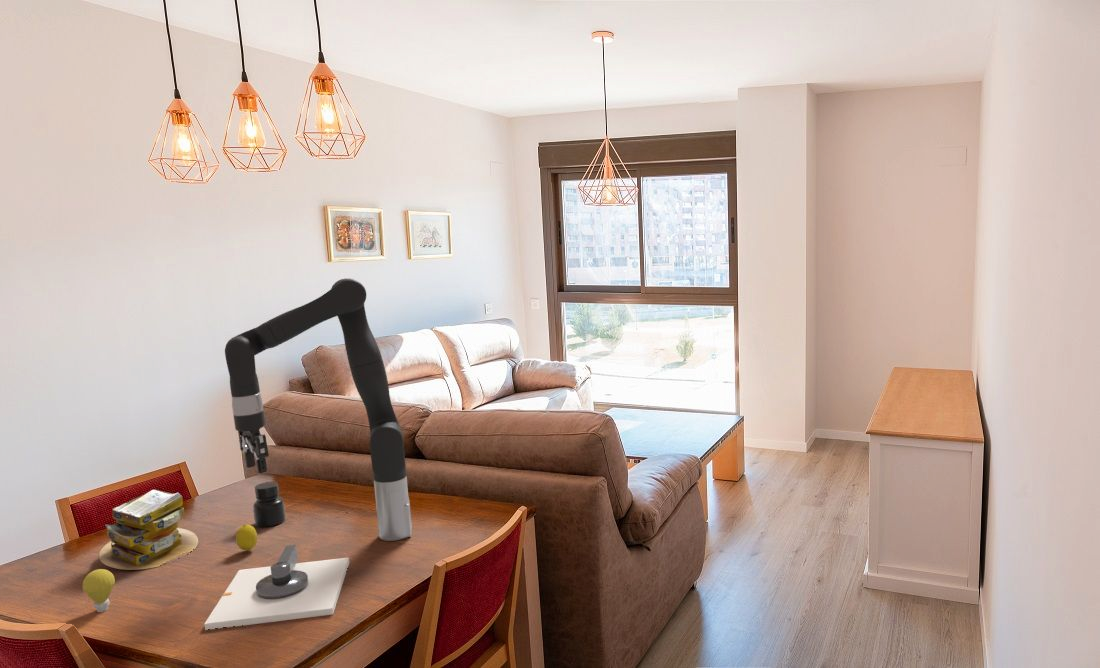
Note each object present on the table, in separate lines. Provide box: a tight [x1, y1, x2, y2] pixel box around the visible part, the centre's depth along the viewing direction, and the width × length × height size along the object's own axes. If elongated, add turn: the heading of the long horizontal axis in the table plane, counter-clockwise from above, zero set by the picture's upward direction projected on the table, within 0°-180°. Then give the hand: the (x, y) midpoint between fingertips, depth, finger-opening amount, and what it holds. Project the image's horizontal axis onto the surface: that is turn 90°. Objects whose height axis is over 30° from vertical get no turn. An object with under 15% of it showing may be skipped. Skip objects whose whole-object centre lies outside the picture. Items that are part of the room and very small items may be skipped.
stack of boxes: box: [98, 489, 199, 571], centre depth 211 cm, size 25×25×17 cm
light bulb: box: [82, 568, 116, 613], centre depth 179 cm, size 7×7×10 cm
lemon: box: [235, 523, 258, 552], centre depth 209 cm, size 6×6×8 cm
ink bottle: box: [252, 481, 286, 528], centre depth 230 cm, size 10×9×12 cm
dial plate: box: [204, 557, 350, 631], centre depth 182 cm, size 28×28×2 cm
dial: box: [256, 544, 308, 599], centre depth 184 cm, size 18×12×6 cm, turn 8°
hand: (256, 469), depth 199 cm, fingers open, 8 cm apart
